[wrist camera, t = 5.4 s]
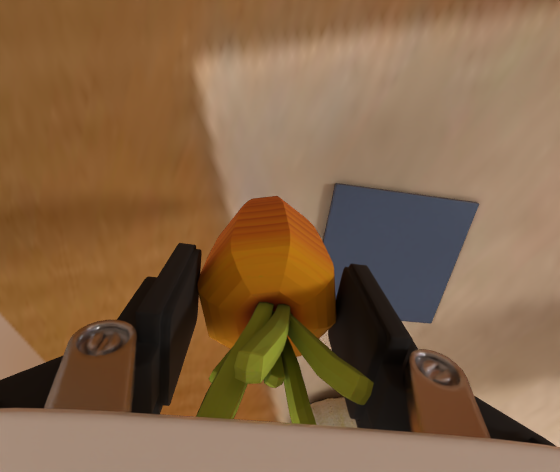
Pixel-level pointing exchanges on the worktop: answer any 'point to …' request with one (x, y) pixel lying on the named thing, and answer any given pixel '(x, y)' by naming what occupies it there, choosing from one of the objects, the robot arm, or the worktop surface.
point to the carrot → (272, 310)
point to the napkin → (398, 243)
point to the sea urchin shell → (332, 413)
